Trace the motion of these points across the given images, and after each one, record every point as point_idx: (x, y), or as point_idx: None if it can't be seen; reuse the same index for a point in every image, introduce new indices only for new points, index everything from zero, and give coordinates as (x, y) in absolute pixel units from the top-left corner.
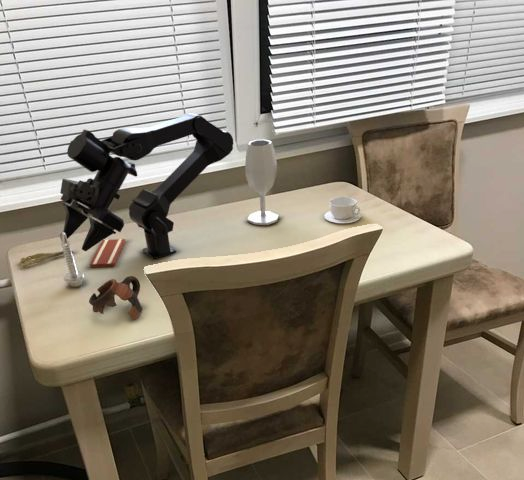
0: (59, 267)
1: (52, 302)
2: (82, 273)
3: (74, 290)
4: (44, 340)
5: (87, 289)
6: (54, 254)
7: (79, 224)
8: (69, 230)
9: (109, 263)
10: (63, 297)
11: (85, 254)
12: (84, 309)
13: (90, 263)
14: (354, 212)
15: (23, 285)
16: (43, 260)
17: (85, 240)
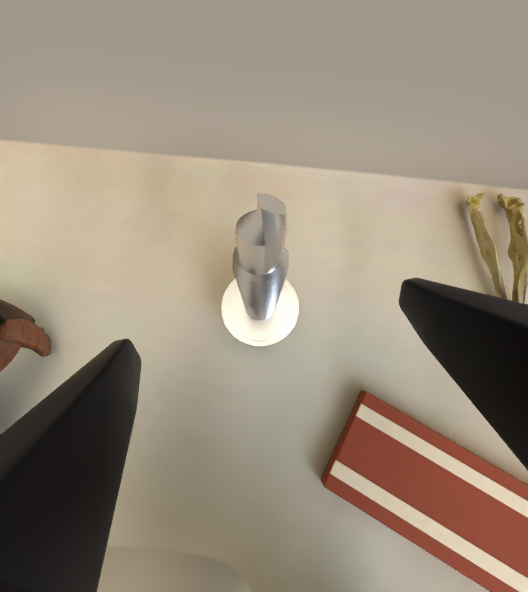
0: None
1: (193, 224)
2: (255, 337)
3: None
4: (16, 167)
5: (204, 333)
6: (508, 298)
7: (524, 451)
8: (450, 334)
9: (331, 468)
10: (201, 257)
11: None
12: (88, 290)
13: (371, 397)
14: None
15: (345, 181)
16: (484, 259)
17: (74, 387)
